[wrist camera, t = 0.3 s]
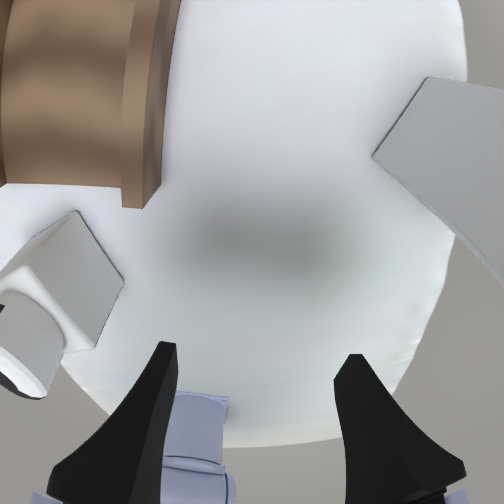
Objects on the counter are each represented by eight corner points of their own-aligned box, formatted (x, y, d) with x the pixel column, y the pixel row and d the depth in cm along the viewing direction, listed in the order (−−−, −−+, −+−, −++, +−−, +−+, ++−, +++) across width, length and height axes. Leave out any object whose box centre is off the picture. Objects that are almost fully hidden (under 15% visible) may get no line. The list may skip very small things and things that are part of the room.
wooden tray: (160, 184, 17) (142, 209, 14) (5, 178, 16) (-23, 197, 13) (200, -74, 7) (190, -100, 4) (21, -29, 6) (-7, -35, 3)
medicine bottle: (72, 300, 23) (20, 408, 13) (28, 240, 19) (-51, 340, 9) (126, 281, 22) (72, 415, 11) (77, 207, 18) (-24, 328, 8)
